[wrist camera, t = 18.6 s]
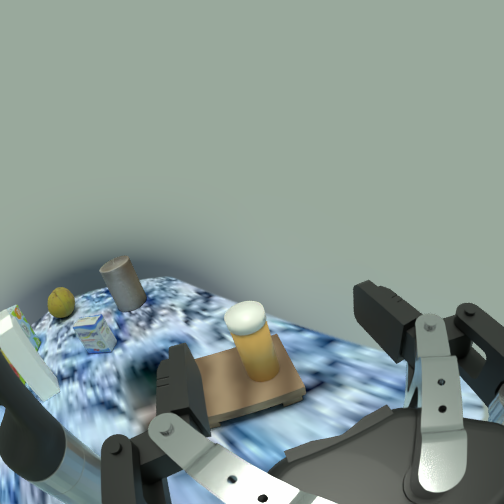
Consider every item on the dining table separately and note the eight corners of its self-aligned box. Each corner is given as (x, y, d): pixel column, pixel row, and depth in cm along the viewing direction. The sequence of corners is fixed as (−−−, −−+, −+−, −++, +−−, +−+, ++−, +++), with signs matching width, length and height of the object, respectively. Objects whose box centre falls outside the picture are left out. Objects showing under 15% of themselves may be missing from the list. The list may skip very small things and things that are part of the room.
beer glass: (251, 387, 36) (228, 331, 32) (243, 364, 41) (221, 309, 36) (285, 374, 37) (269, 317, 32) (273, 352, 42) (257, 296, 37)
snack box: (30, 346, 61) (7, 307, 55) (41, 342, 62) (17, 303, 56) (13, 390, 42) (-20, 347, 36) (24, 387, 44) (-9, 343, 38)
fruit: (85, 304, 81) (73, 279, 77) (70, 323, 70) (55, 297, 66) (65, 307, 82) (53, 284, 78) (50, 325, 71) (36, 301, 67)
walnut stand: (199, 433, 34) (189, 421, 32) (192, 376, 45) (184, 362, 44) (307, 401, 36) (304, 386, 34) (280, 349, 48) (276, 333, 46)
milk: (41, 388, 44) (-11, 315, 35) (57, 378, 48) (7, 303, 39) (43, 402, 40) (-14, 326, 31) (61, 391, 43) (5, 313, 34)
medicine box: (88, 354, 55) (71, 327, 52) (94, 343, 60) (78, 316, 56) (112, 352, 55) (94, 324, 52) (117, 340, 59) (101, 313, 56)
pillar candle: (140, 291, 82) (121, 249, 76) (151, 299, 75) (131, 254, 69) (115, 306, 76) (94, 264, 70) (124, 316, 69) (101, 270, 63)
